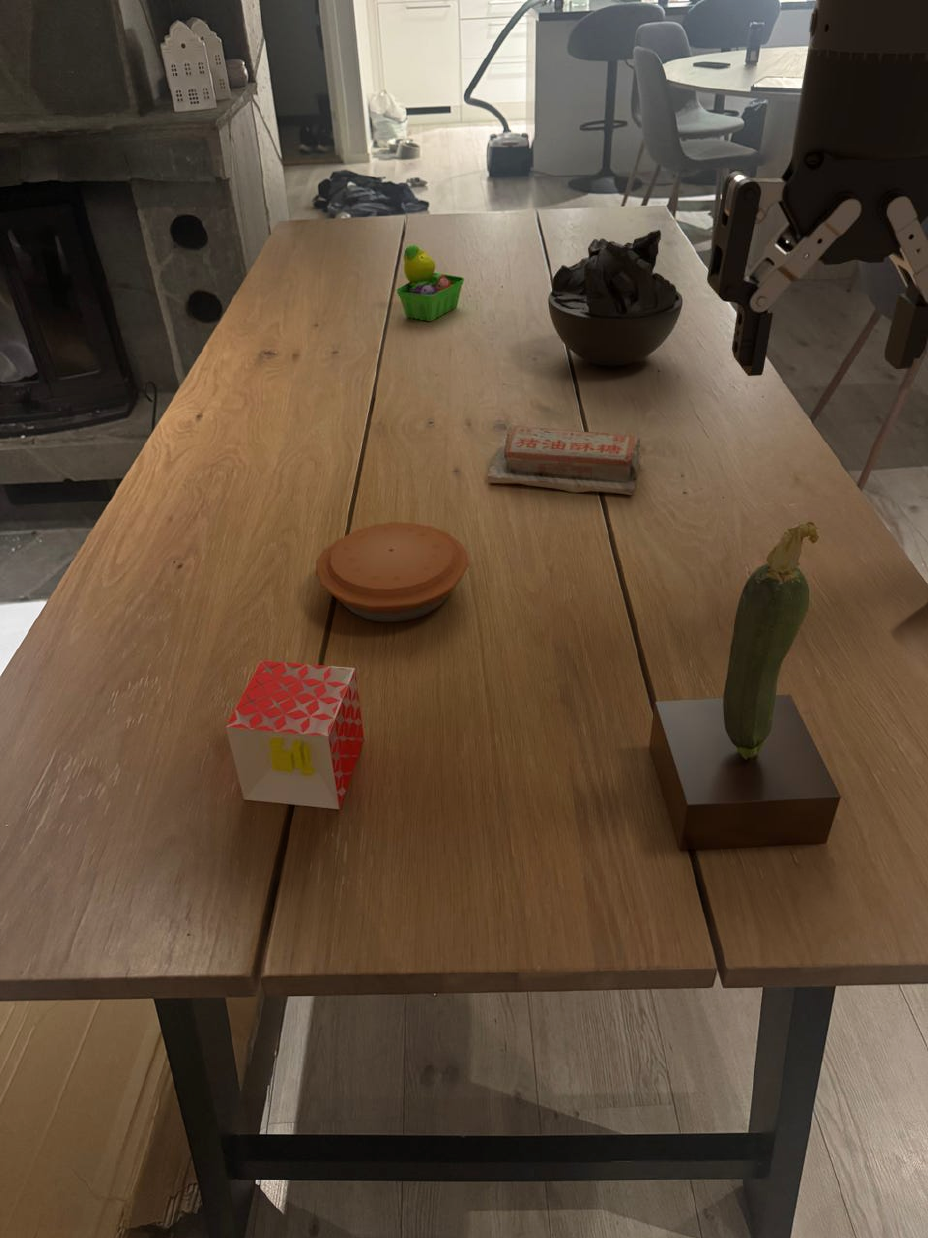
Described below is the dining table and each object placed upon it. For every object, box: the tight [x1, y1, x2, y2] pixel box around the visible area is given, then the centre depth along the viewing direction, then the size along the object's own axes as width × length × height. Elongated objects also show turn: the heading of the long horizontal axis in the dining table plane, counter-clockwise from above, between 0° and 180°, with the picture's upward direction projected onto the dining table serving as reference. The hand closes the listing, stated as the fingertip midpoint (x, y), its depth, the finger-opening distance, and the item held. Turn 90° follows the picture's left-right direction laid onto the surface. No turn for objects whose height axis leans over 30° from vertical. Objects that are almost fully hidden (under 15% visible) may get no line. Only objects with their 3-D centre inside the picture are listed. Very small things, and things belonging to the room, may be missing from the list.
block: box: [648, 694, 842, 852], centre depth 71 cm, size 11×11×5 cm
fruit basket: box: [396, 244, 465, 323], centre depth 163 cm, size 11×9×11 cm
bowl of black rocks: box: [547, 229, 683, 367], centre depth 140 cm, size 20×20×19 cm
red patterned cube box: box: [225, 660, 365, 810], centre depth 74 cm, size 8×8×8 cm
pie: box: [315, 521, 470, 623], centre depth 95 cm, size 15×16×5 cm
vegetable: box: [722, 520, 820, 759], centre depth 64 cm, size 4×4×20 cm
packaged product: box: [487, 425, 642, 496], centre depth 115 cm, size 18×5×10 cm
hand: (824, 367), depth 53 cm, fingers open, 8 cm apart
